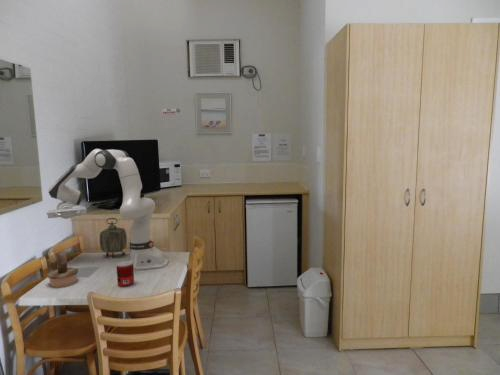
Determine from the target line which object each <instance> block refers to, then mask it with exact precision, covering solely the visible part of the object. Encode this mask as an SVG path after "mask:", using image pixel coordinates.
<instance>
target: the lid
mask: <svg viewBox="0 0 500 375" xmlns="http://www.w3.org/2000/svg"><path fill="white" fill-rule="evenodd" d="M55 256H56V265H57V268H56V269H53V270H51V271H49V272H48V273H47V274H46V275H47V276H46V277H47V278H48V279H49V280H50V279H61V278H67V277H70V276H73V275H75V274H77V273H78V269H77V268H78V267H72V266H71V267H70V266H69V267H68V260H67V252H66V251H59V252H56V254H55Z"/></svg>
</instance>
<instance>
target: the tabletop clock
mask: <svg viewBox="0 0 500 375" xmlns="http://www.w3.org/2000/svg"><path fill="white" fill-rule="evenodd" d="M109 220H115V221H116V222H113V221H111V222H108V221H109ZM118 222H119V221H118V219H117V218H115V217H108V218H107V219H106V224H108V225H109V226H108V227H107V228H105V229H104V230H102V231H100V234H99V245H100V250H101V251H102V252H104V253H105V255H106V256H108V255H109V253H112V255H111V257H112V258H115V255H114V253H119V252H121V253H122V255H123V256H125V255H126V252H124V251H123V250H124V249H125V248H127V245H128V244H127V242H128V238H127V232H126V229H125V228H123V227H117V224H118Z"/></svg>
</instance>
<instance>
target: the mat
mask: <svg viewBox="0 0 500 375" xmlns="http://www.w3.org/2000/svg"><path fill="white" fill-rule="evenodd" d="M76 268H77V269H78V273H77V274H76V277H77V278H89V277H91V276H92V275H93V274H94V273H95V272H97V271H98V270H99V269H100V266H92V267H90V266H89V267H88V266H87V267H86V266H85V267H84V266H83V267H76Z"/></svg>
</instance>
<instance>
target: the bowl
mask: <svg viewBox="0 0 500 375" xmlns="http://www.w3.org/2000/svg"><path fill="white" fill-rule="evenodd" d="M77 278H78V277H76V274H75V275H73V276H70V277H67V278H61V279H50V278H49V285H50V287H52V288H63V287H64V288H65V287H68V286H70V285H74V284H76V282H77Z"/></svg>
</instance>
